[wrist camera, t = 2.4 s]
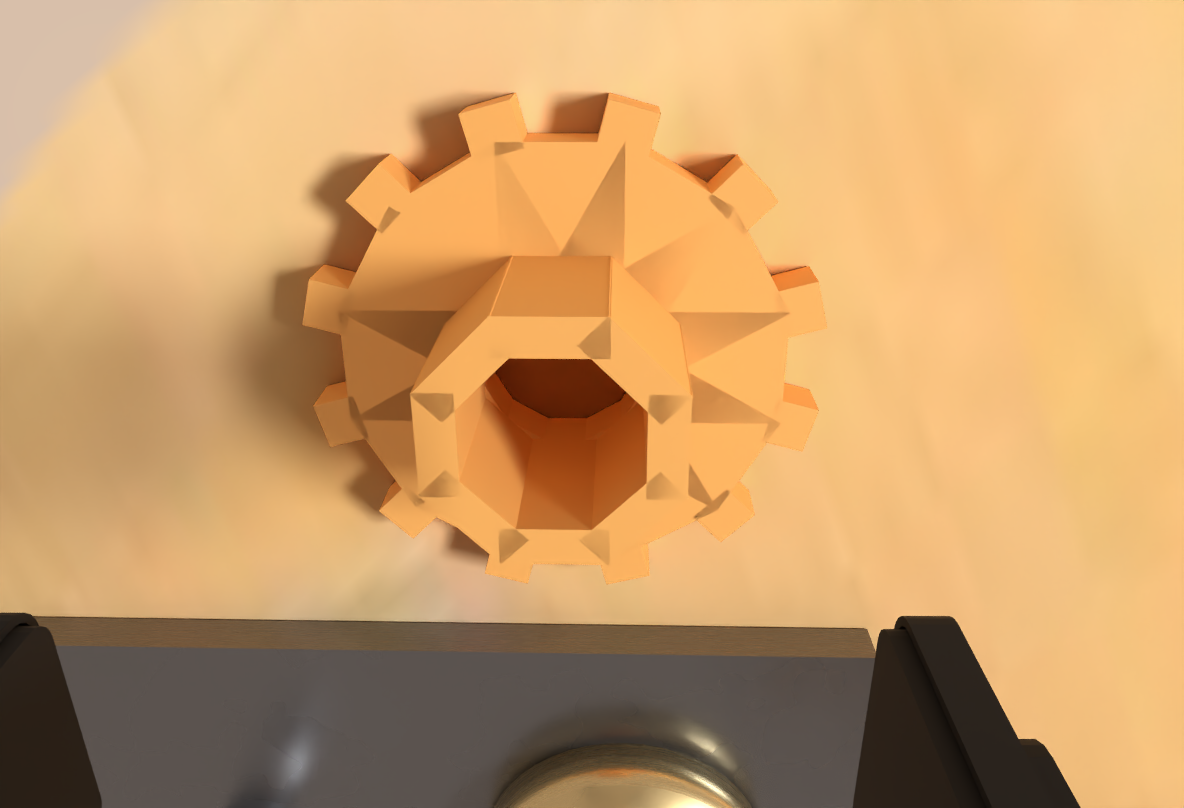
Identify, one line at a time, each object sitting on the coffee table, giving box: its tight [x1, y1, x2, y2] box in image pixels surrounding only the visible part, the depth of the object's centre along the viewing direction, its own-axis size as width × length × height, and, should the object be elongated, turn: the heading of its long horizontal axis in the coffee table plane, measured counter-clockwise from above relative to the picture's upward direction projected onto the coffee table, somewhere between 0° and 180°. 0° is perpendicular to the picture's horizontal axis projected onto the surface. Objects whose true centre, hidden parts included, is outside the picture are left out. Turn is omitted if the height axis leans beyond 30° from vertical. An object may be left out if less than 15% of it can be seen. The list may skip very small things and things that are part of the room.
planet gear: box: [302, 93, 827, 584], centre depth 21 cm, size 12×12×5 cm
